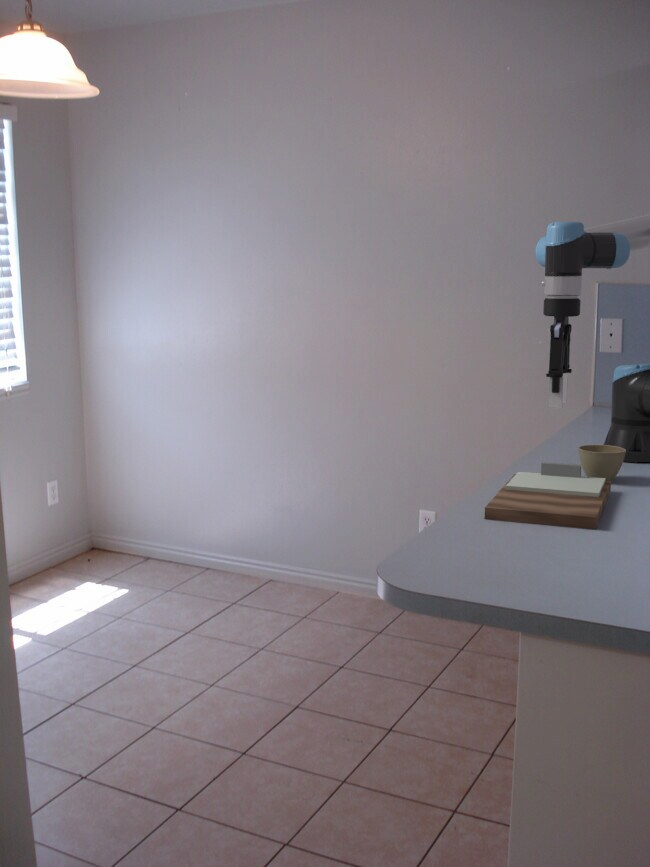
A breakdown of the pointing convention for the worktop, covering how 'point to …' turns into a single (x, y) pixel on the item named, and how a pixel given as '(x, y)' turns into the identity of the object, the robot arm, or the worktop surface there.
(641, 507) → the worktop surface
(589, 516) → the wooden box
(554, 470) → the lid
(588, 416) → the worktop surface
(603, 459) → the flower pot
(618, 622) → the worktop surface
